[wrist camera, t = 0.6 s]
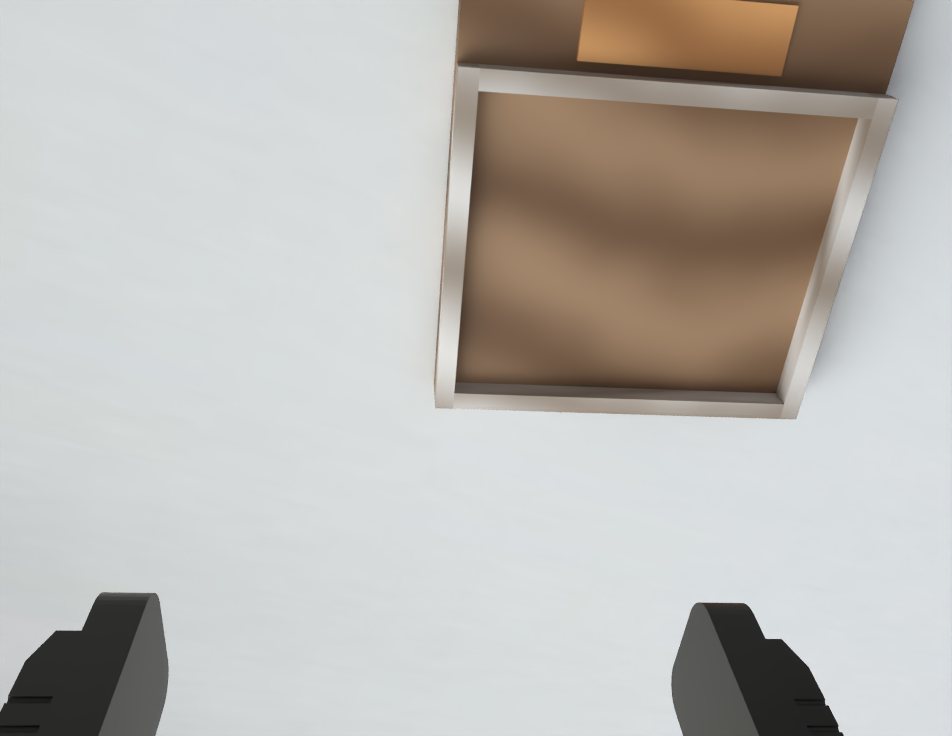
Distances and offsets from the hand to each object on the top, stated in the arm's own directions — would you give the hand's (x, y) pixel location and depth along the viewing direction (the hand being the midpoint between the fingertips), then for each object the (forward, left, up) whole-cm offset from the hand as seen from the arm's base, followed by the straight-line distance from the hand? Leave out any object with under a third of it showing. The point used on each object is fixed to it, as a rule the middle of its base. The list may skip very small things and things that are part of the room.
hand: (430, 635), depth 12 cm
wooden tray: (+1, +10, -25) cm, 26 cm away
